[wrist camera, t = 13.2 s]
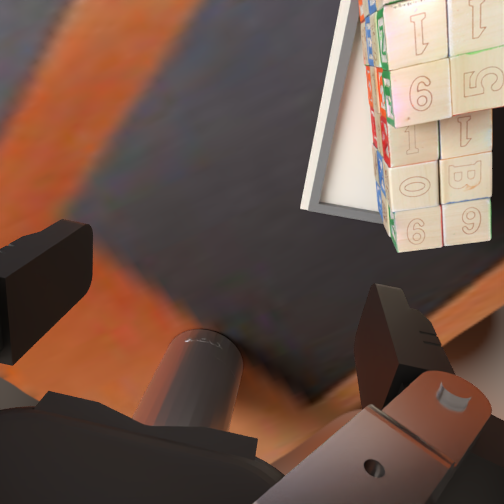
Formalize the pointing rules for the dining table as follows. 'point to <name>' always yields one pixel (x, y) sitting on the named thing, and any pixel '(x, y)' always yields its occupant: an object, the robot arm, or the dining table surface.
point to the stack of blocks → (433, 115)
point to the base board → (343, 131)
